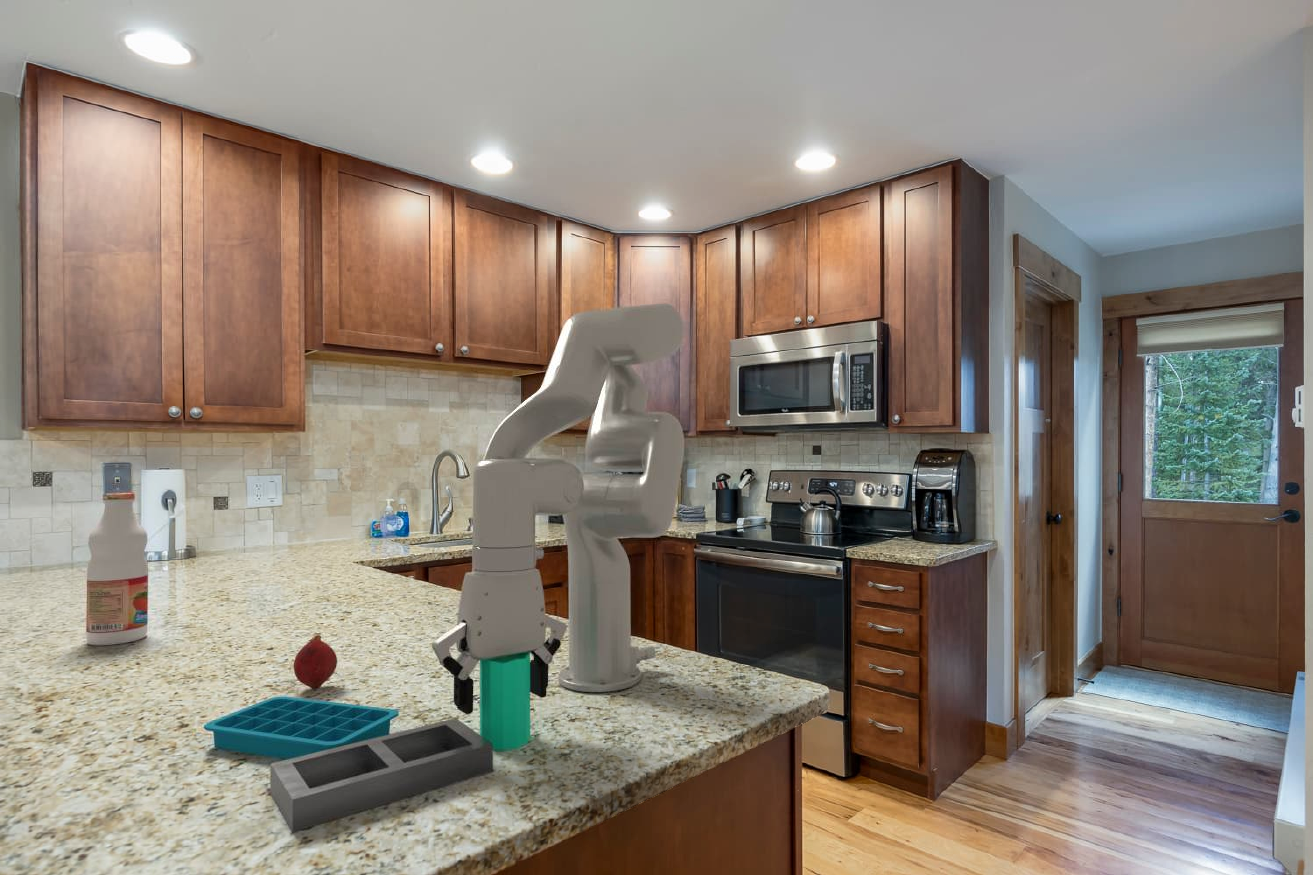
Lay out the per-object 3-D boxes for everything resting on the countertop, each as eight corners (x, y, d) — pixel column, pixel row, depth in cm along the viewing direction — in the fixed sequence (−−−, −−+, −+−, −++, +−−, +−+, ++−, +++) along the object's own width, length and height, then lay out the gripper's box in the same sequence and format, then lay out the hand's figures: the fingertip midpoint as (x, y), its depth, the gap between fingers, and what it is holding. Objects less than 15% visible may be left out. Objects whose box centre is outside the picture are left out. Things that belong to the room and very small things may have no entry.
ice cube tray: (335, 773, 79) (335, 746, 79) (197, 751, 85) (198, 726, 85) (403, 734, 90) (403, 710, 90) (277, 717, 96) (277, 695, 97)
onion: (319, 696, 104) (319, 640, 104) (284, 694, 105) (284, 639, 105) (344, 683, 109) (344, 631, 110) (311, 681, 111) (311, 629, 111)
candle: (469, 746, 86) (469, 644, 86) (498, 728, 91) (498, 633, 91) (512, 753, 83) (512, 649, 84) (539, 734, 89) (539, 637, 89)
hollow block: (455, 743, 86) (455, 718, 86) (492, 771, 79) (492, 743, 79) (270, 792, 74) (270, 763, 74) (292, 832, 66) (292, 799, 66)
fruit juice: (82, 640, 137) (84, 493, 138) (142, 631, 144) (144, 491, 145) (89, 649, 131) (91, 495, 131) (151, 639, 137) (153, 493, 138)
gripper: (550, 552, 96) (549, 682, 95) (422, 562, 85) (420, 709, 84) (580, 557, 90) (579, 696, 89) (447, 569, 79) (445, 727, 78)
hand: (502, 702), depth 87 cm, fingers open, 9 cm apart
